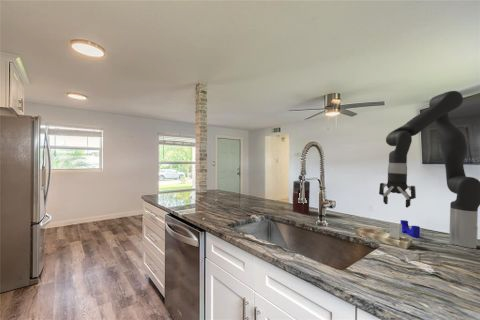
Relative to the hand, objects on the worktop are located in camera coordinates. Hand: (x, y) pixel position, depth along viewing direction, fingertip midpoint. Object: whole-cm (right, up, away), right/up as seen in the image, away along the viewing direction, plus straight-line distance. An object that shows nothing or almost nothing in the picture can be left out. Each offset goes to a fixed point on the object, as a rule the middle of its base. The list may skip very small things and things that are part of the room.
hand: (396, 205), depth 103 cm
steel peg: (0, -18, 0) cm, 18 cm away
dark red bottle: (-31, -17, +57) cm, 67 cm away
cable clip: (+17, -19, +14) cm, 29 cm away
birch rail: (-4, -18, +4) cm, 19 cm away
